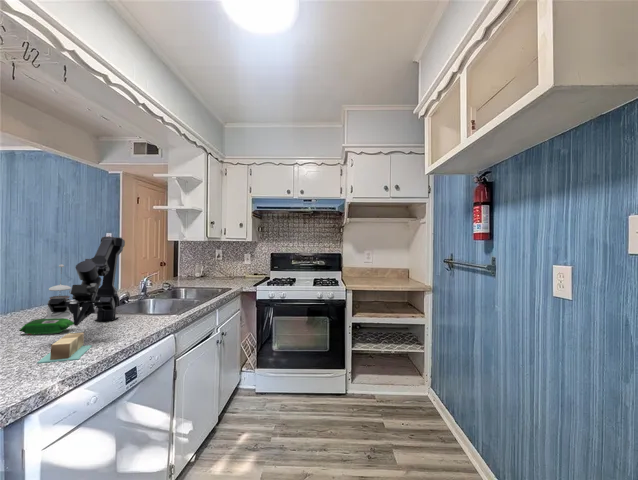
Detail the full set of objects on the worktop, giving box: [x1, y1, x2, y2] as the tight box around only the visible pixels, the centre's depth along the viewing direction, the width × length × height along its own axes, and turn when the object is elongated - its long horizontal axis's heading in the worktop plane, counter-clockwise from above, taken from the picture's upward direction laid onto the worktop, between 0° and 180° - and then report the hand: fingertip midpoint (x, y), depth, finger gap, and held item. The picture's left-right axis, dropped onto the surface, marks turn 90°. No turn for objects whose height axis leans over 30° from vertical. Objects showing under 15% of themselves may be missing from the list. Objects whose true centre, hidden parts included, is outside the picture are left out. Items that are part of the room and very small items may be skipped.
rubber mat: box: [36, 344, 93, 364], centre depth 93 cm, size 12×10×1 cm
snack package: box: [18, 318, 74, 336], centre depth 113 cm, size 7×16×5 cm, turn 105°
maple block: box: [50, 332, 85, 360], centre depth 94 cm, size 4×4×12 cm
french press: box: [44, 264, 73, 319], centre depth 133 cm, size 10×12×25 cm
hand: (75, 325), depth 99 cm, fingers closed
